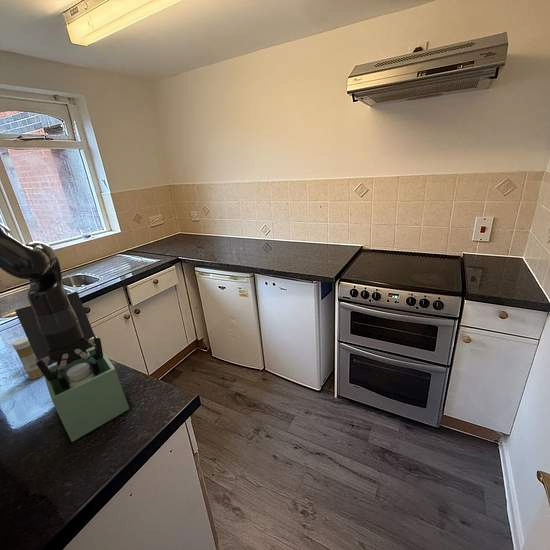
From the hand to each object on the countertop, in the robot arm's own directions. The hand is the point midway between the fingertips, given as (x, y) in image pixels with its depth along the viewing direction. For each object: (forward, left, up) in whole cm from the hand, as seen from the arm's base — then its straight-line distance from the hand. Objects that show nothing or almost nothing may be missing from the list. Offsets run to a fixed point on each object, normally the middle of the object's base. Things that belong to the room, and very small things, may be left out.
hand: (82, 380), depth 78 cm
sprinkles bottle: (-22, +25, -10) cm, 35 cm away
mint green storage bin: (0, 0, -10) cm, 10 cm away
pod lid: (-4, +8, +12) cm, 15 cm away
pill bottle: (0, 0, -8) cm, 8 cm away
